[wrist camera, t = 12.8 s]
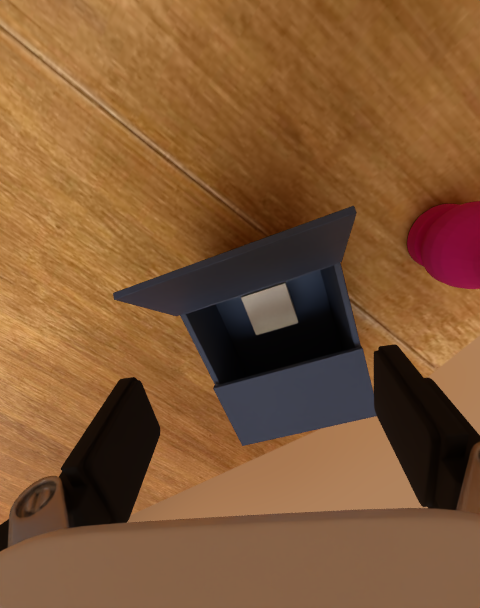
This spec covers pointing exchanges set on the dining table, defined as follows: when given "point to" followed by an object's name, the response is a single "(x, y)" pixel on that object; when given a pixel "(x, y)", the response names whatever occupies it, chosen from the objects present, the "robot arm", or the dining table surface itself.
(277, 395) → the carton
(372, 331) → the dining table surface
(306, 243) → the flap
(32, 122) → the dining table surface
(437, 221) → the pepper mill
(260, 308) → the block
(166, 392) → the dining table surface
